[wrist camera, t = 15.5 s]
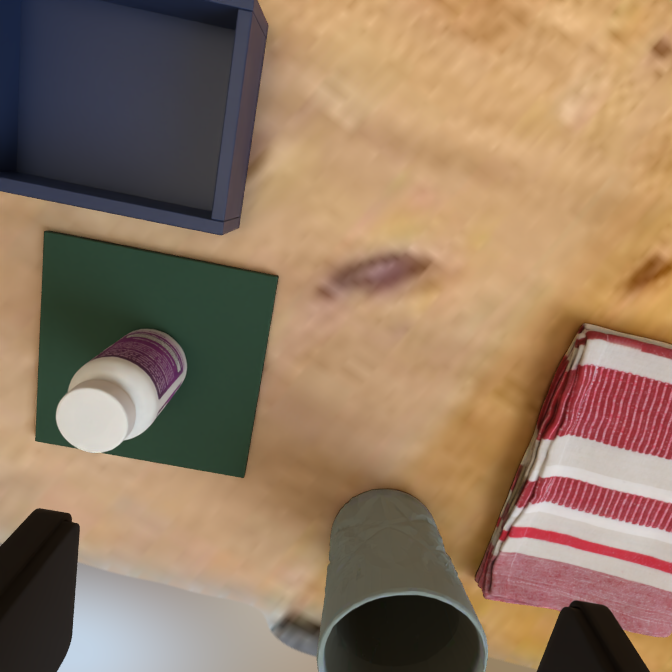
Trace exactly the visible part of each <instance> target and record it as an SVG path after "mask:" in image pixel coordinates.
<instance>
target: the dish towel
mask: <svg viewBox="0 0 672 672" xmlns="http://www.w3.org/2000/svg"><path fill="white" fill-rule="evenodd" d="M475 581H476V582H477V583H478V586H479V587H480V588H482V592H483V596H484V598H485V599H490V600H495V601H502V602H507V603H514V604H522V605H530V606H536V607H544V608H549V609H555V610H559V611H561V610H562V608H564V607H569V605H570V603H571V602H573V601H574V600H578V601H584V602H590V603H596V604H602V605H605V606H607V607H608V608H609V609H610V610H611V612H612V613H613V615H614V616H615V618H616V620H617V621H618V623H619V624H620V626H621V627H622V629H624V630H627V631H630V632H634V633H639V634H643V635H649V636H654V637H668V636H669V635H670V634H671V632H672V344H668V343H665V342H660V341H656V340H652V339H648V338H644V337H639V336H635V335H631V334H626V333H621V332H618V331H614V330H610V329H607V328H603V327H599V326H596V325H592V324H587V323H584V324H583V325H582V326H581V328H580V329H579V331H578V333H577V335H576V337H575V338H574V340H573V342H572V344H571V345H570V347H569V349H568V351H567V353H566V354H565V355H564V357H563V359H562V361H561V363H560V365H559V367H558V369H557V371H556V374H555V376H554V378H553V381H552V383H551V385H550V389H549V391H548V394H547V396H546V398H545V401H544V404H543V406H542V408H541V411H540V414H539V417H538V420H537V425H536V429H535V432H534V435H533V437H532V439H531V442H530V444H529V446H528V449H527V451H526V452H525V455H524V457H523V460H522V462H521V464H520V466H519V468H518V471H517V473H516V476H515V478H514V481H513V484H512V486H511V488H510V492H509V495H508V497H507V500H506V502H505V505H504V507H503V509H502V512H501V514H500V516H499V519H498V522H497V526H496V528H495V531H494V533H493V536H492V539H491V541H490V543H489V546H488V548H487V550H486V553H485V556H484V558H483V561H482V563H481V566H480V568H479V569H478V571H477V574H476V577H475Z"/></svg>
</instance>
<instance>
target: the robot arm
mask: <svg viewBox="0 0 672 672" xmlns="http://www.w3.org/2000/svg"><path fill="white" fill-rule="evenodd" d="M79 532H80V526H79V524H77V523H72V517H71V515H70V514H69V513H64V512H58V511H52V510H46V509H41V508H39V509H36V510H35V511H33V512H32V513H31V514H30V515H29V516H28V517H27V519H26V520H25V521H24V522H23V523H22V524H21V525H20V526H19V527H18V528H17V529H16V530H15V531H14V532H13V534H12V535H11V536H10V537H9V538H8V539H7V540H6V541H5V542H4V543H3V544H2V545H1V546H0V672H57V670H58V669H59V667H60V665H61V663H62V662H63V660H64V658H65V656H66V654H67V651H68V649H69V646H70V642H71V638H72V629H73V614H74V600H75V588H76V574H77V560H78V546H79ZM537 672H650V671H649V670H648V668H647V667H646V665H645V663H644V662H643V660H642V659H641V657H640V656H639V654H638V652H637V651H636V649H635V648H634V646H633V645H632V643H631V641H630V640H629V638H628V637H627V635H626V634H625V632H624V631H623V629H622V627H621V626H620V624H619V623H618V621H617V620H616V618H615V616H614V615H613V613H612V612H611V610H610V609H609V608H608V607H607V606H605V605H602V604H596V603H590V602H584V601H578V600H574V601H573V602H571V603H570V605H569V607H564V608H562V610H561V612H560V614H559V616H558V619H557V622H556V624H555V627H554V629H553V632H552V634H551V637H550V639H549V642H548V644H547V647H546V650H545V652H544V655H543V657H542V660H541V662H540V665H539V667H538V670H537Z"/></svg>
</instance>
